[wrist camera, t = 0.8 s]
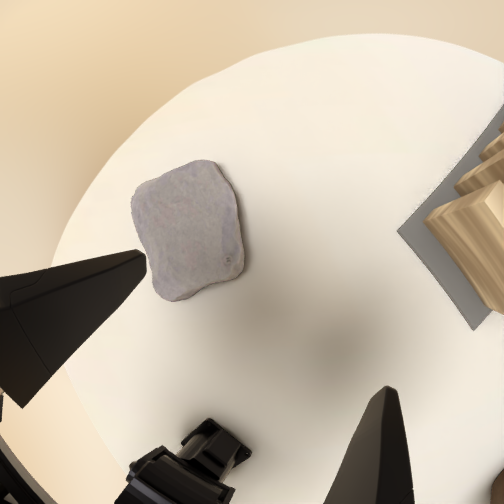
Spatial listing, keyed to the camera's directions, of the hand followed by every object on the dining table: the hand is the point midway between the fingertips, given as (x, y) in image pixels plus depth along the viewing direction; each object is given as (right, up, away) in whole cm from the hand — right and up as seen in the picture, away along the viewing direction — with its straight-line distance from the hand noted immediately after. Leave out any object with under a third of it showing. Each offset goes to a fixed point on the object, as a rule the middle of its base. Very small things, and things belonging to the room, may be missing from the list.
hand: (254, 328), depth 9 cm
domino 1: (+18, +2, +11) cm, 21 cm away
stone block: (-5, +5, +20) cm, 21 cm away
